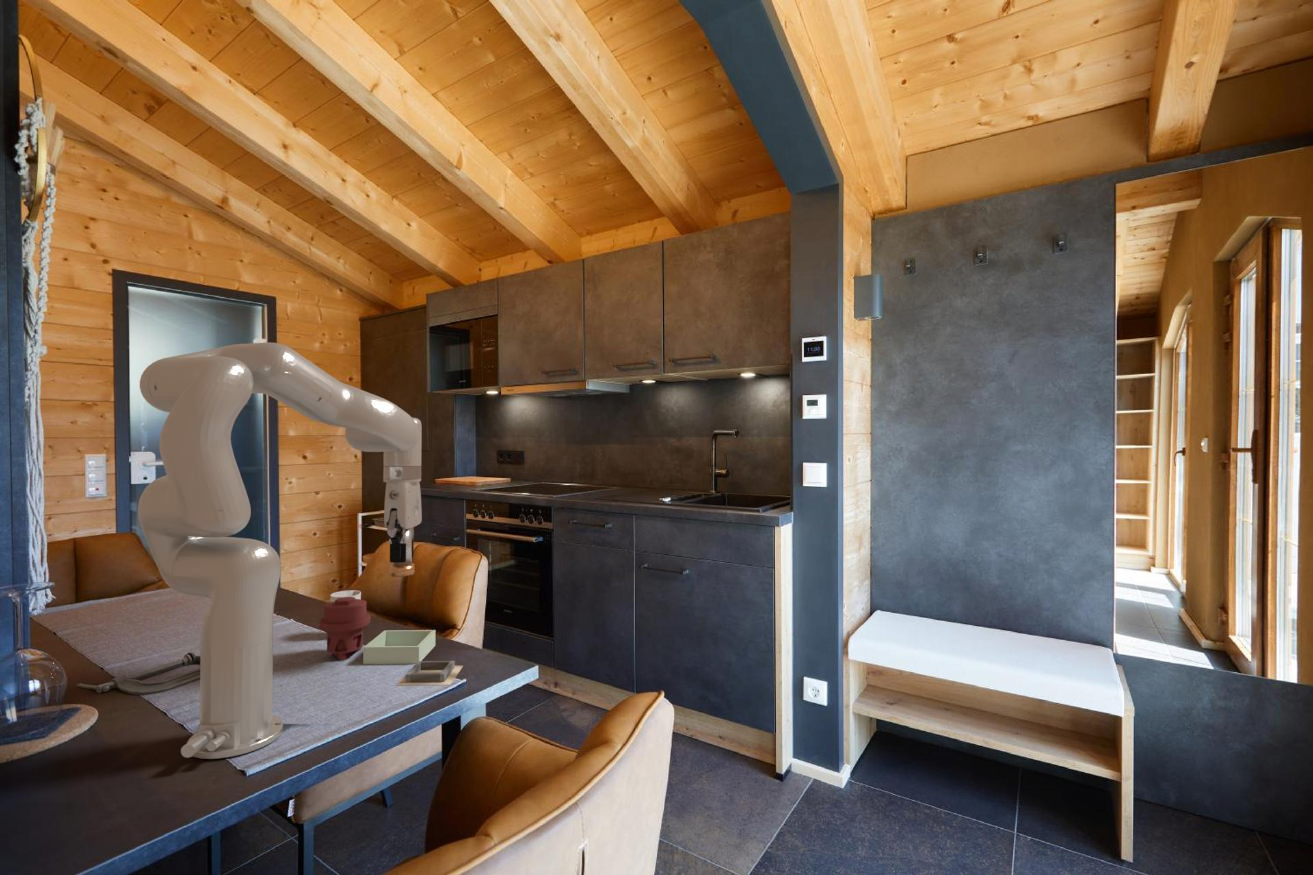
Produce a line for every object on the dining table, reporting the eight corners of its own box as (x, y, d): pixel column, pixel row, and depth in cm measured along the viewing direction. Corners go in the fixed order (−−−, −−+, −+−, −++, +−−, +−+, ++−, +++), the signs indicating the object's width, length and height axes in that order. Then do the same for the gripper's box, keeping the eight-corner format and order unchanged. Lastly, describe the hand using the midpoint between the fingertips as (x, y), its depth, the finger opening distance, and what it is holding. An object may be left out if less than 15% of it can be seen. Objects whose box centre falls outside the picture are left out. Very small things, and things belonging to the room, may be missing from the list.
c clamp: (123, 707, 111) (124, 692, 111) (75, 689, 118) (75, 674, 118) (241, 669, 129) (241, 656, 129) (193, 655, 136) (193, 643, 136)
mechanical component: (346, 666, 130) (307, 660, 133) (380, 650, 139) (344, 645, 142) (346, 606, 130) (308, 602, 133) (380, 595, 139) (344, 591, 142)
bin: (418, 669, 128) (419, 646, 128) (363, 669, 128) (363, 647, 128) (435, 650, 140) (435, 630, 140) (384, 650, 139) (384, 630, 139)
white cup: (366, 633, 151) (367, 592, 151) (340, 641, 145) (341, 598, 145) (350, 629, 154) (350, 588, 154) (324, 636, 149) (324, 594, 149)
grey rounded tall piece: (392, 577, 130) (392, 517, 130) (388, 573, 134) (387, 515, 134) (416, 574, 133) (416, 515, 133) (411, 570, 137) (410, 513, 137)
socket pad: (449, 691, 118) (449, 676, 118) (395, 691, 117) (395, 677, 117) (463, 671, 128) (463, 658, 128) (413, 671, 127) (413, 658, 127)
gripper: (406, 477, 126) (406, 568, 126) (432, 472, 142) (431, 552, 142) (368, 477, 125) (367, 568, 125) (398, 472, 142) (398, 552, 142)
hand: (401, 559), depth 134 cm, fingers closed on grey rounded tall piece, 3 cm apart
